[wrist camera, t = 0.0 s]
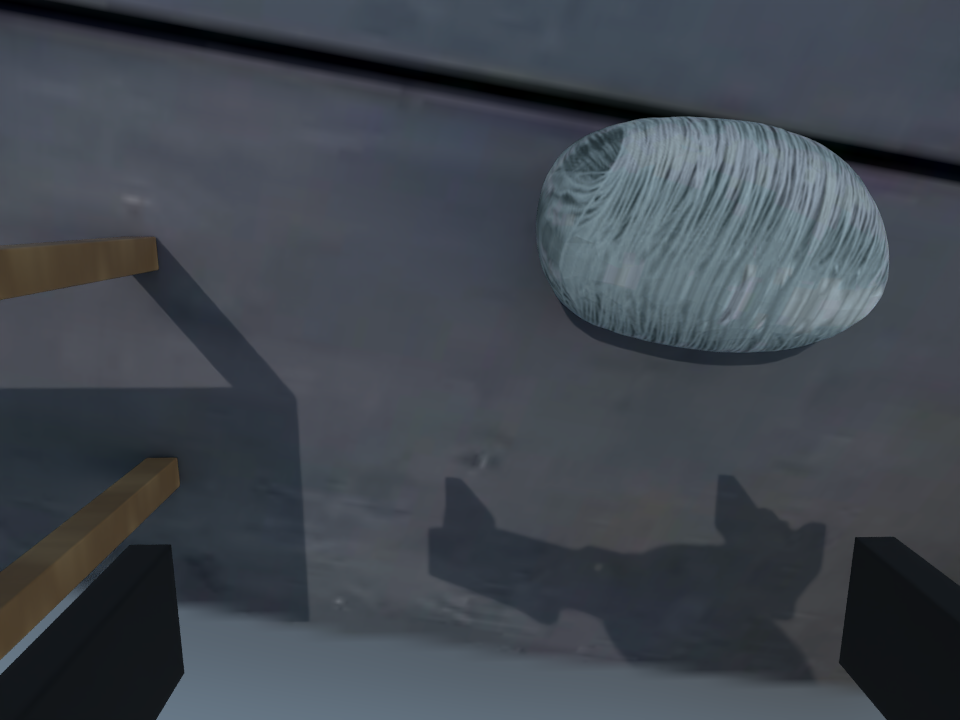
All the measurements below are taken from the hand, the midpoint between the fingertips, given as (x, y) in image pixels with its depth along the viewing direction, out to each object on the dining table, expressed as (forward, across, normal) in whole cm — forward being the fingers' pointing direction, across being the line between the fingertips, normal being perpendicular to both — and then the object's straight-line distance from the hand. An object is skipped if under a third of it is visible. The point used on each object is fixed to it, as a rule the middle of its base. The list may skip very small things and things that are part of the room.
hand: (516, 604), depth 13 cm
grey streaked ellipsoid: (+20, -9, -6) cm, 23 cm away
